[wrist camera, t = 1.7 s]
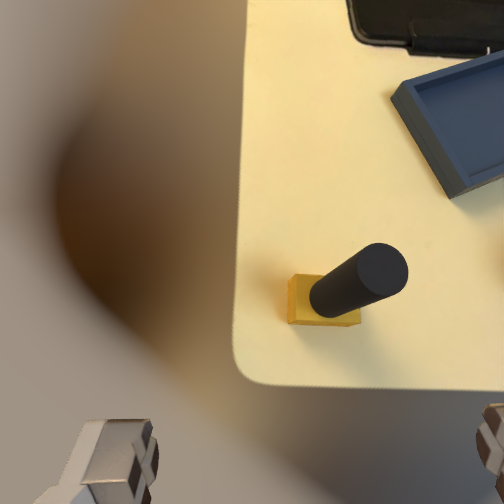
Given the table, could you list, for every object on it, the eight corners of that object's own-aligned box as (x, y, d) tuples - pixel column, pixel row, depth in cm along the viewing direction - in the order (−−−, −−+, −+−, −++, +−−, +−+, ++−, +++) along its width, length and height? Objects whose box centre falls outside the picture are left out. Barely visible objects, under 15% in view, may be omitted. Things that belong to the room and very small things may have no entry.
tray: (449, 199, 38) (467, 188, 35) (389, 98, 40) (402, 81, 38) (567, 150, 42) (589, 136, 39) (506, 60, 44) (524, 43, 42)
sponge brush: (288, 324, 32) (340, 298, 21) (288, 280, 33) (337, 235, 22) (348, 326, 33) (429, 303, 22) (346, 284, 34) (422, 241, 23)
